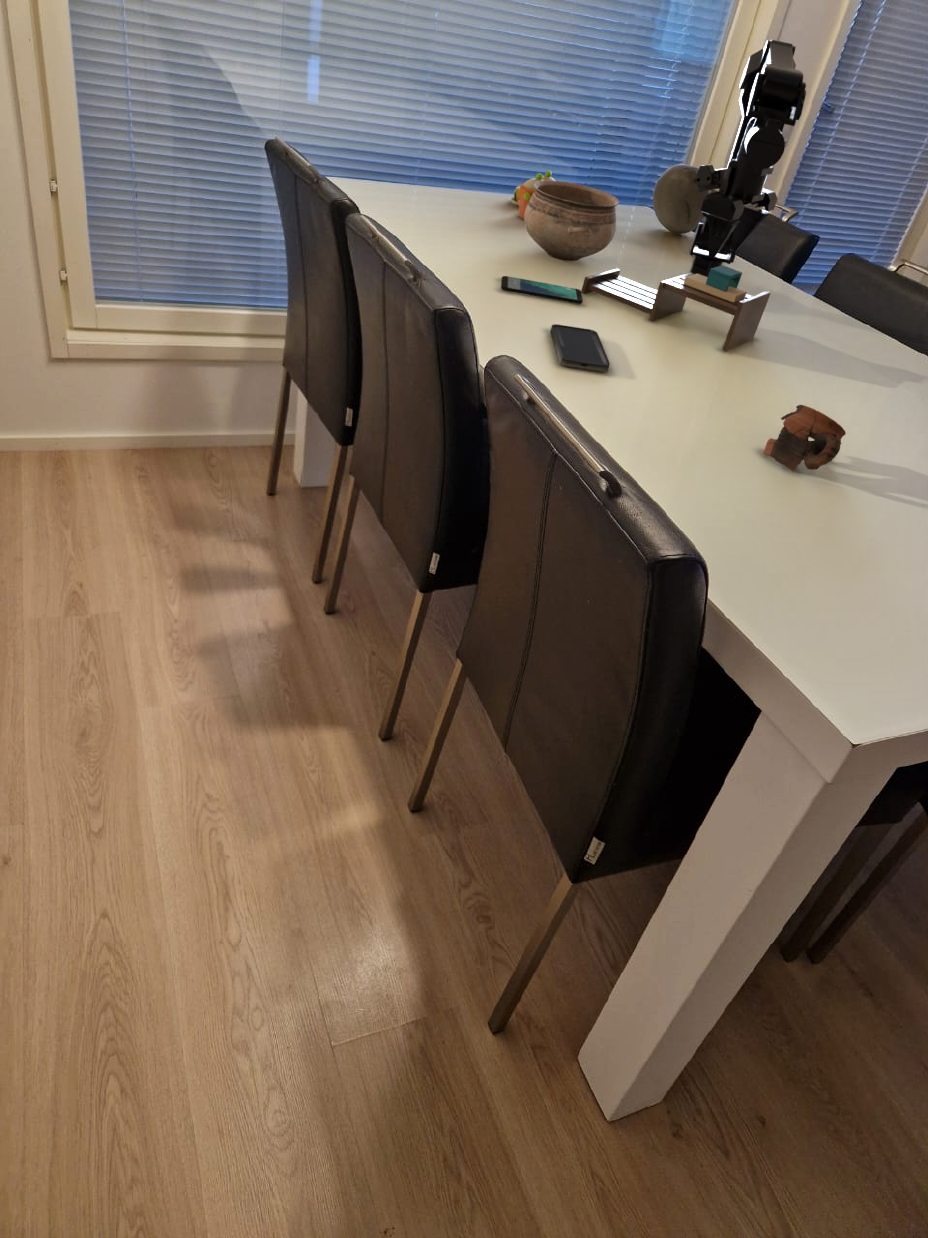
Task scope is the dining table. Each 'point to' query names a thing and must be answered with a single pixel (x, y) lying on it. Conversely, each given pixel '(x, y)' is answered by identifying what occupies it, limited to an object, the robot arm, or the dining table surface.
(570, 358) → the phone
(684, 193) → the cantaloupe
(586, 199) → the cooking pot
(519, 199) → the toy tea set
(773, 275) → the dining table surface
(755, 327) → the shoe rack
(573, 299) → the smartphone
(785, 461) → the pottery mug
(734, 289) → the wall mail holder
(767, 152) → the robot arm
